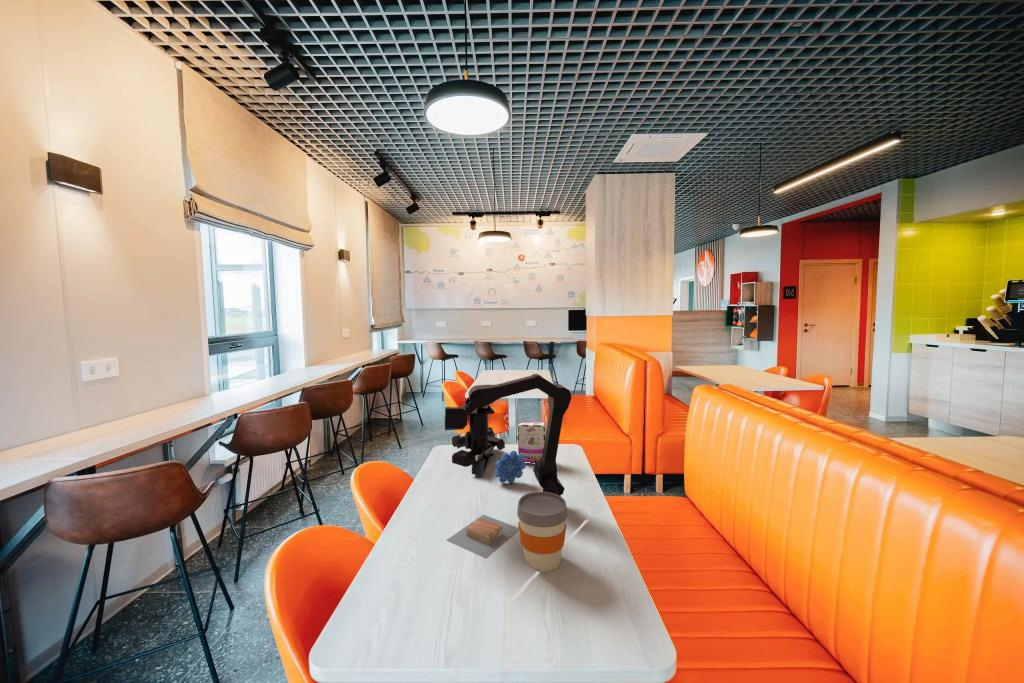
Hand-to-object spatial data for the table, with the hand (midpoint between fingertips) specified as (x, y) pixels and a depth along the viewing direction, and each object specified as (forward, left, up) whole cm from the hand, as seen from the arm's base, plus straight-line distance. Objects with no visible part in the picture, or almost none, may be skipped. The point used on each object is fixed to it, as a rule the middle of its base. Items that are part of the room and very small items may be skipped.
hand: (480, 477), depth 120 cm
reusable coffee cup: (+8, +27, -12) cm, 30 cm away
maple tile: (+5, +8, -10) cm, 14 cm away
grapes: (-24, -6, -12) cm, 28 cm away
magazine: (-34, -26, -12) cm, 44 cm away
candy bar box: (-44, -9, -12) cm, 47 cm away
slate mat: (+8, +8, -12) cm, 16 cm away
